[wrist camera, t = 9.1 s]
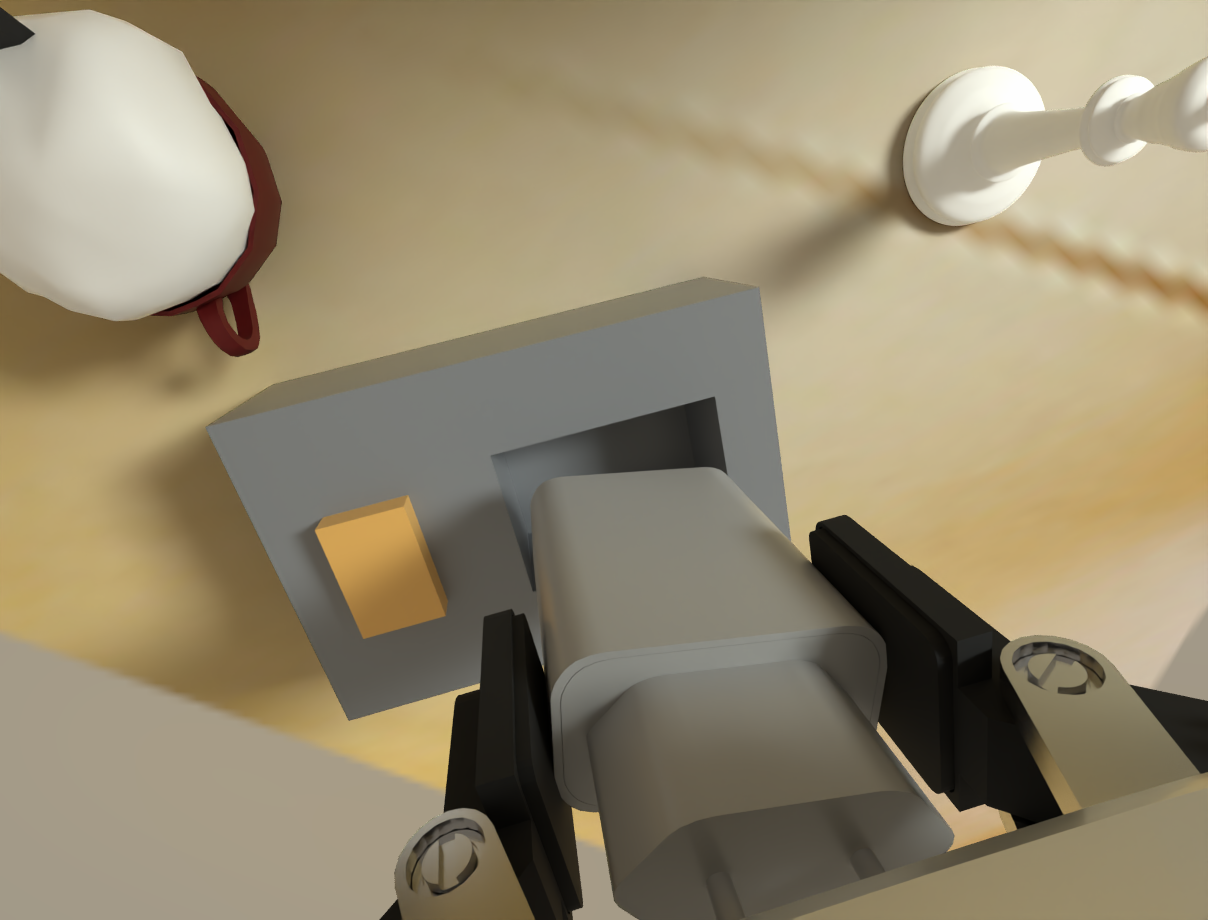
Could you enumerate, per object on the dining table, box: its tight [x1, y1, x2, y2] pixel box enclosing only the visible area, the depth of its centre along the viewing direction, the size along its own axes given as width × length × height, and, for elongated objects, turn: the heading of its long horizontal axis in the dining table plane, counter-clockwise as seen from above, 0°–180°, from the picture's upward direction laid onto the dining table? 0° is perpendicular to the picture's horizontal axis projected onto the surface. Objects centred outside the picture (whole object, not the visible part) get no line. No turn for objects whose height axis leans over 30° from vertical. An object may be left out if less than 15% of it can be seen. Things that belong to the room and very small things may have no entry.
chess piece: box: [903, 57, 1208, 226], centre depth 17 cm, size 5×5×10 cm
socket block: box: [205, 277, 791, 721], centre depth 20 cm, size 15×10×6 cm, turn 103°
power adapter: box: [530, 467, 954, 920], centre depth 11 cm, size 3×5×12 cm, turn 91°
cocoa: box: [0, 8, 282, 357], centre depth 12 cm, size 10×6×12 cm
